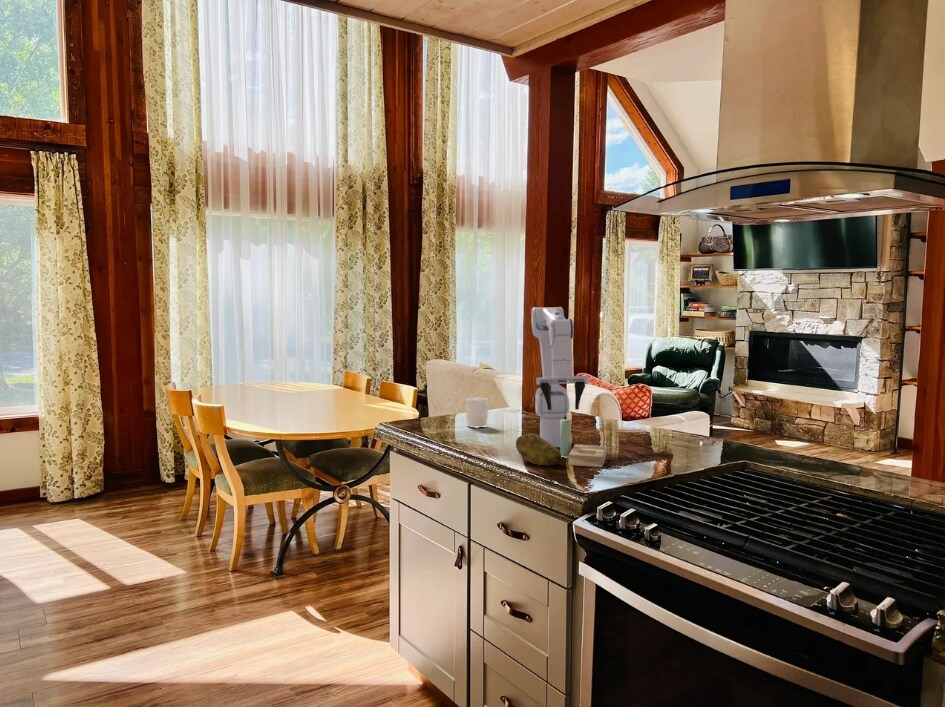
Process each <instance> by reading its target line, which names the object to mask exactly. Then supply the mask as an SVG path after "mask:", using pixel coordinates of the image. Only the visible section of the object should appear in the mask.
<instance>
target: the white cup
mask: <svg viewBox="0 0 945 707" xmlns="http://www.w3.org/2000/svg"><path fill="white" fill-rule="evenodd" d="M465 410H466V413H465V414H466V421H467V422H466V423H467V427H468V426H484V425H487V424H488V413H489V398H488V397H479V396H476V397H467V398H465ZM487 426H488V425H487Z"/></svg>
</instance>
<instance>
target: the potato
mask: <svg viewBox="0 0 945 707" xmlns="http://www.w3.org/2000/svg"><path fill="white" fill-rule="evenodd" d="M515 448H516V450H517V452H518V453H519V455H521V457H523V459H526V460H527V461H529V463H530V464H532V463H533V465H535V464H538V465H537V466H541V465H545V466H544V467H550V466H551V465H553V466H556V465H557V464H559V463H561V461H562V457H561V452H560V449H558V447H554V446H553V445H551V444H550V443H548V442H547V441H545V440H544V439H542V438H541V437H540V435H537V434H535V433H531V432H528V433H524V434H522V435H520V436H519V437H518V438H517V439H516V441H515Z"/></svg>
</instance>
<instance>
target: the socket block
mask: <svg viewBox="0 0 945 707" xmlns="http://www.w3.org/2000/svg"><path fill="white" fill-rule="evenodd" d="M606 458H607V446H606V445H594V444H574V445H573V447H572V449H571V452H570V454H569V458H568V466H582V467H596V468H597V467H599V468H602V467H603V466H604V464H605V461H606Z"/></svg>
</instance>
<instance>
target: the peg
mask: <svg viewBox="0 0 945 707" xmlns="http://www.w3.org/2000/svg"><path fill="white" fill-rule="evenodd" d="M571 432H572V420H571V419H567V418H566V419H565V418H564V419H563V420H560V447H559V451H560V452H561V455H562V456H569V454H570V452H571V450H572V449H571V444H572V442H571V441H572V440H571V437H572V436H571V435H572V433H571Z"/></svg>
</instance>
